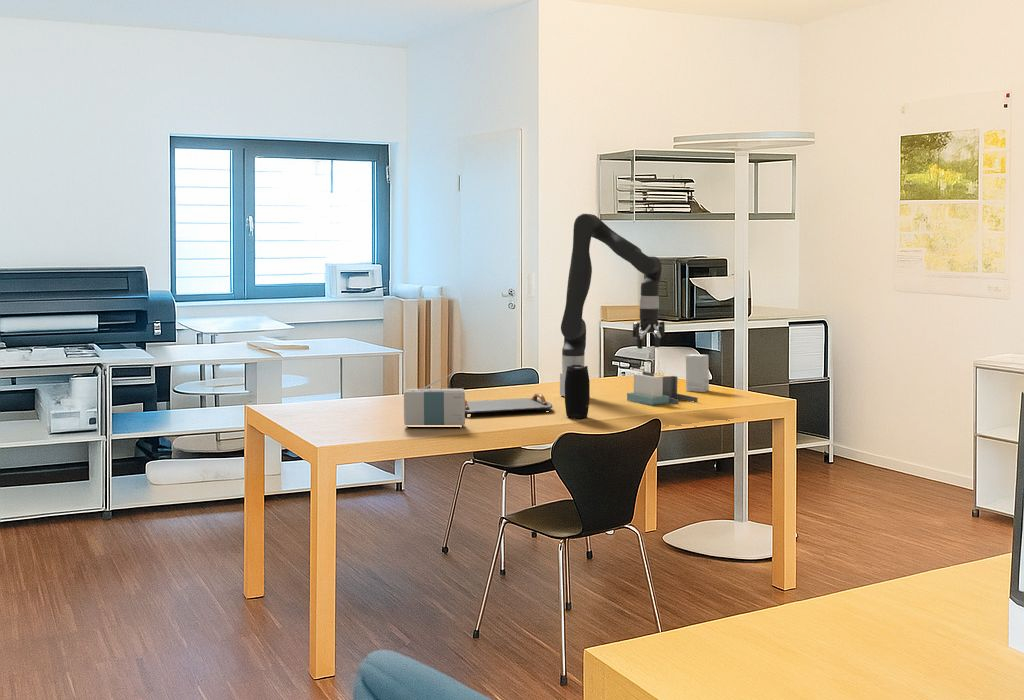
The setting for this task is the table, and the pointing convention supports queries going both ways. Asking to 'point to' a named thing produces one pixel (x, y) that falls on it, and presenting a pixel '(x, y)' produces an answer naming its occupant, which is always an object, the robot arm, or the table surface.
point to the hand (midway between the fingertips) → (648, 347)
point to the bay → (674, 390)
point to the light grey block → (648, 385)
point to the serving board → (507, 405)
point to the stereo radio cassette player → (434, 406)
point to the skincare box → (697, 373)
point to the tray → (648, 399)
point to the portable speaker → (577, 391)
